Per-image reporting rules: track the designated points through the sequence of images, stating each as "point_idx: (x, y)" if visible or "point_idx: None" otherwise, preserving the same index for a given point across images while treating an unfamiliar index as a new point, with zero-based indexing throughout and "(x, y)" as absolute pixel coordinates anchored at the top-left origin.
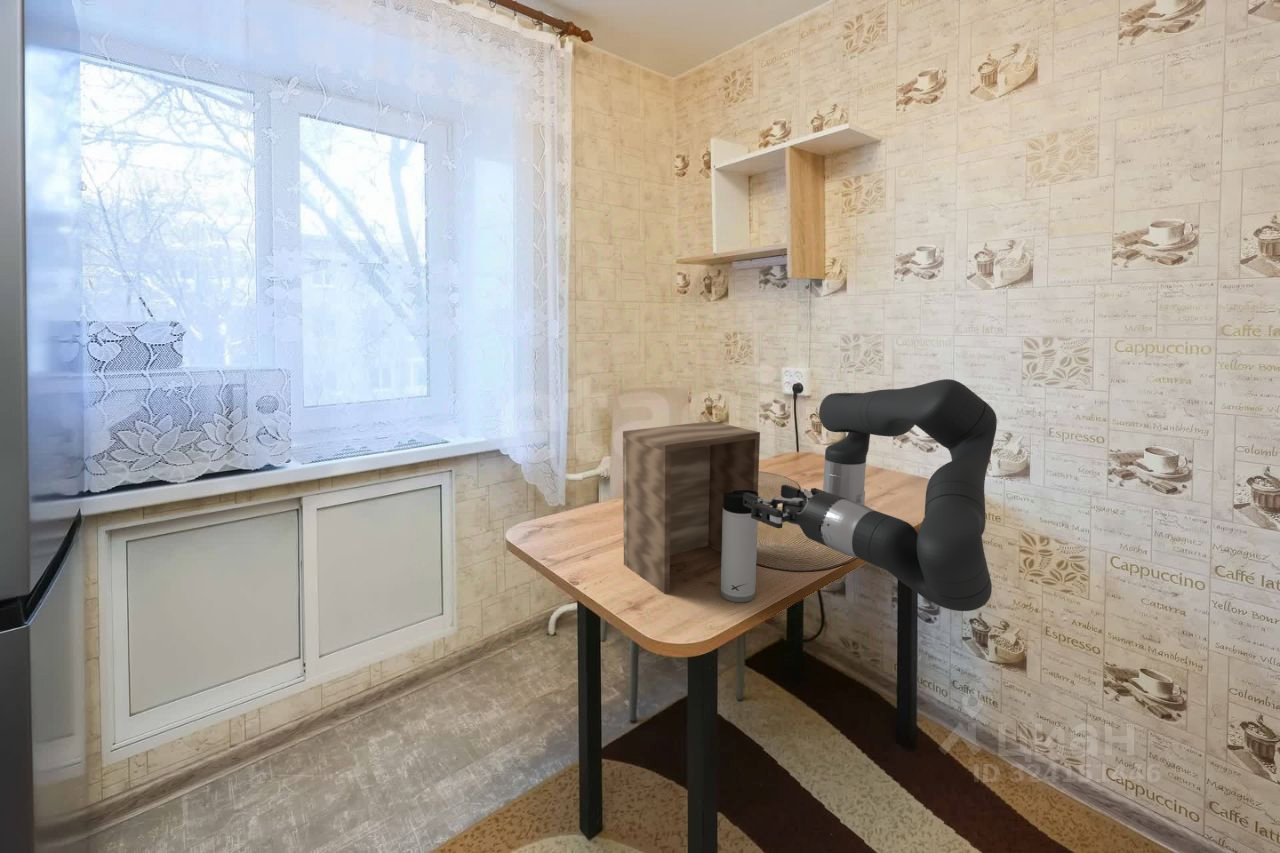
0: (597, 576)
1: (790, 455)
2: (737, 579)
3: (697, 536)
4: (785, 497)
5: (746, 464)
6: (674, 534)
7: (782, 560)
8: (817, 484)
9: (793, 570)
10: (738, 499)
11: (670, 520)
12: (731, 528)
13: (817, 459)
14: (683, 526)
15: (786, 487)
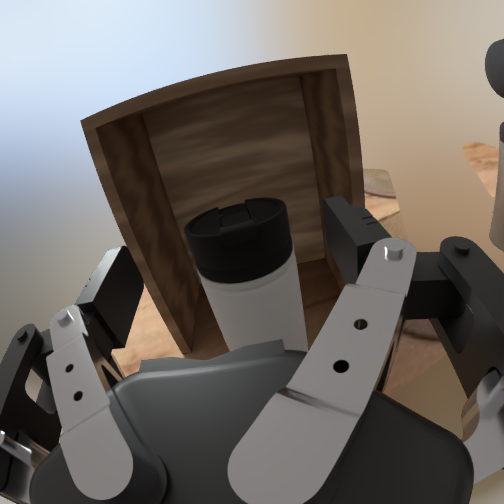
0: (150, 297)
1: (470, 143)
2: None
3: (303, 246)
4: (334, 255)
5: (337, 130)
6: None
7: None
8: (490, 173)
9: (421, 335)
10: (192, 241)
11: None
12: (211, 306)
13: (491, 149)
14: None
15: (330, 213)
